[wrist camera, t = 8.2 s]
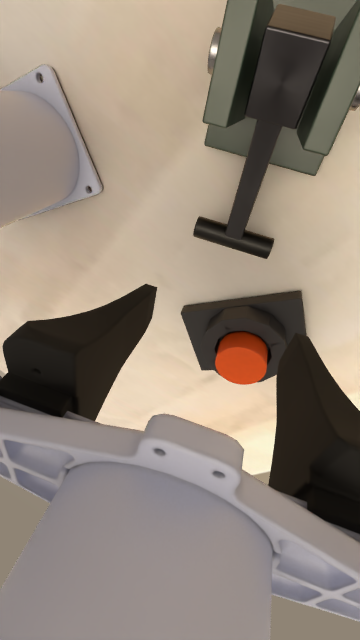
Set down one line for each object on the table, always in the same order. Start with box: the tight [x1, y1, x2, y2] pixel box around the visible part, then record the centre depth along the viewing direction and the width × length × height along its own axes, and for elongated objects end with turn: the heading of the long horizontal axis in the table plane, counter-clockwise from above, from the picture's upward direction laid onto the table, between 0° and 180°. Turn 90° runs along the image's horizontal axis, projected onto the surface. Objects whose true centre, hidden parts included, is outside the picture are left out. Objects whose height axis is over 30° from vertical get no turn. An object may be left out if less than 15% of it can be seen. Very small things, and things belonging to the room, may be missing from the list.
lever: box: [193, 4, 336, 259], centre depth 15 cm, size 11×5×2 cm, turn 166°
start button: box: [215, 331, 268, 385], centre depth 24 cm, size 4×4×2 cm
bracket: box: [203, 0, 360, 176], centre depth 13 cm, size 8×7×8 cm
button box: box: [181, 291, 306, 382], centre depth 26 cm, size 10×7×3 cm
